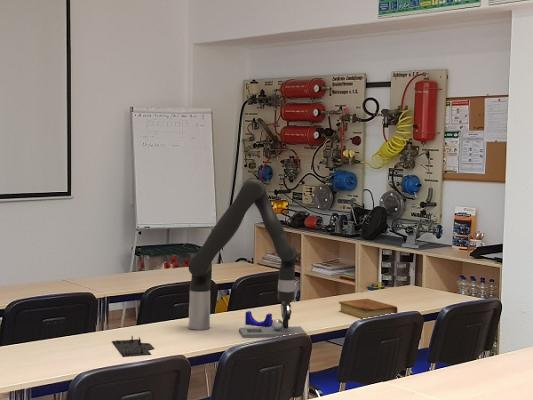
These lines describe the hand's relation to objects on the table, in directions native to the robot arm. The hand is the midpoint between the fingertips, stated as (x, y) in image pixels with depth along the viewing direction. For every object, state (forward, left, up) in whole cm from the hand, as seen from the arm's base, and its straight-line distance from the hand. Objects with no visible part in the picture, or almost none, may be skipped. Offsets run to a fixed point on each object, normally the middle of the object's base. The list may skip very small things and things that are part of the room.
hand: (285, 328), depth 368 cm
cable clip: (-9, +17, -3) cm, 20 cm away
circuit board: (-66, -19, -3) cm, 69 cm away
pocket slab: (-6, 0, -2) cm, 6 cm away
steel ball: (-4, 0, +2) cm, 4 cm away
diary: (+48, +36, -3) cm, 60 cm away
